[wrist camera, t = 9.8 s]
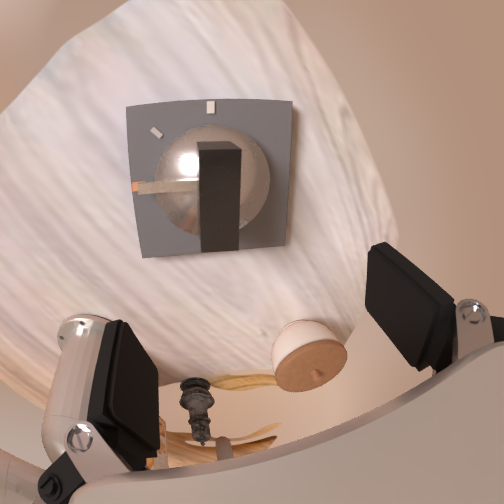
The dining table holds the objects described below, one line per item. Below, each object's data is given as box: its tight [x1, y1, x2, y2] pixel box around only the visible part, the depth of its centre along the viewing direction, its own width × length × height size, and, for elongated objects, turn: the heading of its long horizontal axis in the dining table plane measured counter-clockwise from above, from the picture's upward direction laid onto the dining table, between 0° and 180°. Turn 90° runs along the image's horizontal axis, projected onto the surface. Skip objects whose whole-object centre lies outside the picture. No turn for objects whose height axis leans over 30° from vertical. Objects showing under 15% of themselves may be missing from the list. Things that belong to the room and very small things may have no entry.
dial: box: [138, 125, 270, 253], centre depth 24 cm, size 12×11×8 cm
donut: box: [216, 437, 233, 461], centre depth 52 cm, size 10×4×10 cm, turn 176°
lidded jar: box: [271, 320, 347, 392], centre depth 39 cm, size 11×11×9 cm
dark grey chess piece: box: [180, 378, 214, 446], centre depth 39 cm, size 6×6×12 cm
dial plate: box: [126, 99, 292, 258], centre depth 28 cm, size 16×16×2 cm
